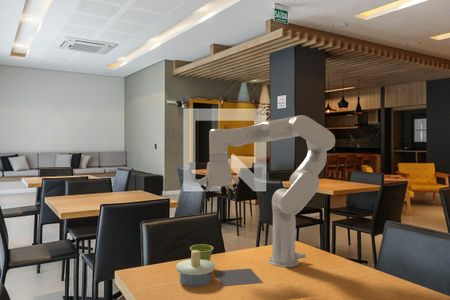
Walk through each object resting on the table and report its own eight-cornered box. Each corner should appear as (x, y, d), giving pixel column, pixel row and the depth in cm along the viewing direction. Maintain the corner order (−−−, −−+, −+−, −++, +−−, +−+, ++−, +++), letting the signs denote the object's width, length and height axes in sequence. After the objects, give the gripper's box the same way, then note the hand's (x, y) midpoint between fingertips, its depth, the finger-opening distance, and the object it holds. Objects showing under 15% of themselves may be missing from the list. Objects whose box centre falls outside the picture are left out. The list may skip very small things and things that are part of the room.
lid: (210, 260, 139) (210, 245, 139) (218, 273, 125) (218, 256, 125) (174, 263, 135) (174, 247, 135) (178, 276, 122) (178, 258, 122)
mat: (250, 269, 143) (250, 268, 143) (263, 284, 129) (263, 282, 129) (213, 272, 140) (213, 271, 140) (222, 287, 125) (222, 286, 125)
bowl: (207, 275, 137) (207, 262, 137) (213, 286, 126) (213, 272, 126) (178, 277, 134) (178, 264, 134) (182, 288, 124) (182, 274, 124)
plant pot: (214, 265, 148) (214, 244, 148) (211, 273, 138) (211, 251, 138) (192, 264, 149) (192, 243, 148) (187, 272, 139) (187, 250, 139)
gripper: (235, 158, 154) (236, 197, 154) (196, 159, 149) (196, 200, 149) (241, 158, 147) (241, 200, 147) (200, 159, 142) (200, 202, 142)
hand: (219, 200), depth 148 cm, fingers open, 9 cm apart
